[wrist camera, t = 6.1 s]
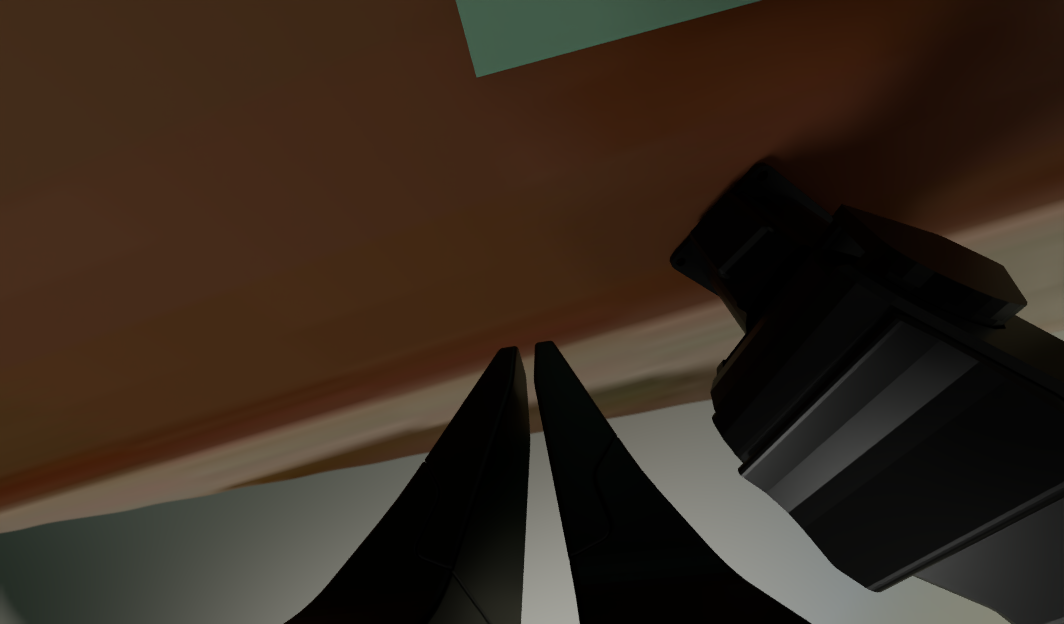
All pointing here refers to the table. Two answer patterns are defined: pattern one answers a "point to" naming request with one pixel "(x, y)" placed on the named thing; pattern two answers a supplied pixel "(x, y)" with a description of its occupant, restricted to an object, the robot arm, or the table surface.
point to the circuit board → (564, 25)
